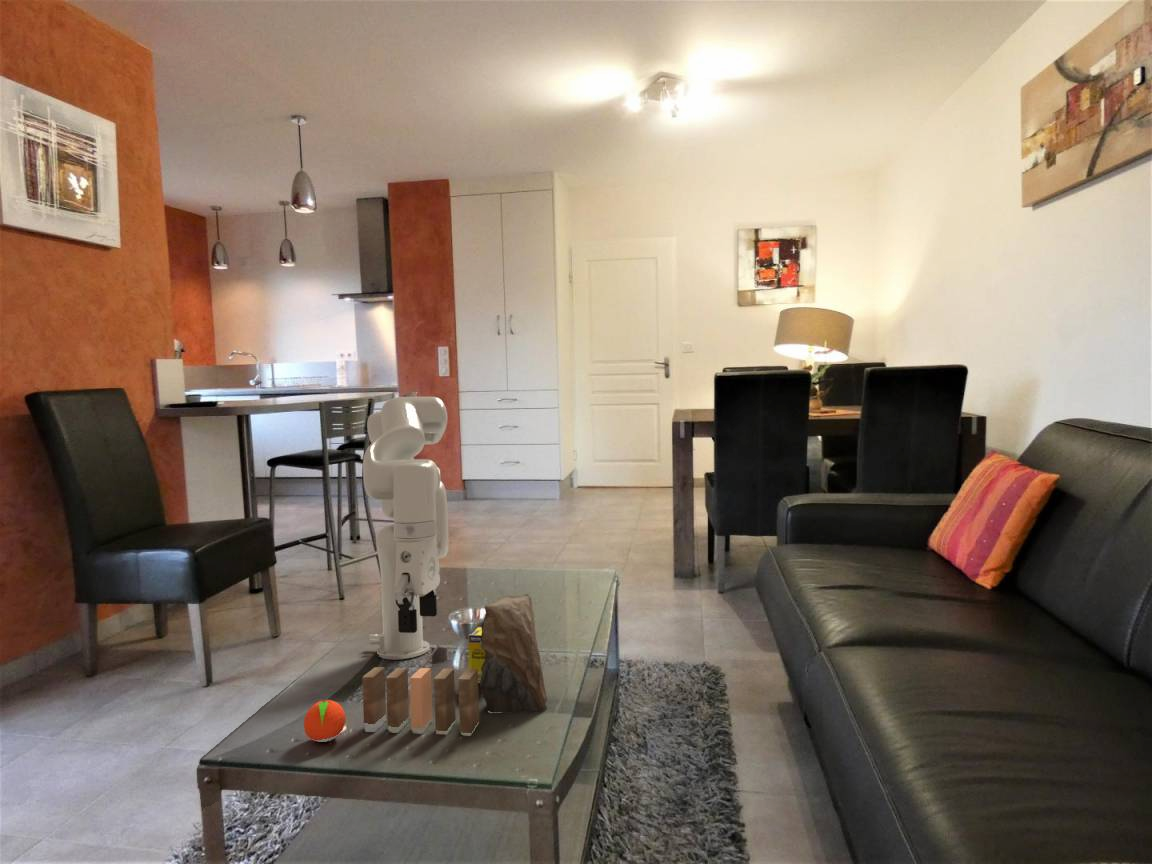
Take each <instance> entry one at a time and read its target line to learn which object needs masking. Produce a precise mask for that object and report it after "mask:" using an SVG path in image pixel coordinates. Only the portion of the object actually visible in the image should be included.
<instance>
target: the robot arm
mask: <svg viewBox="0 0 1152 864" xmlns="http://www.w3.org/2000/svg"><path fill="white" fill-rule="evenodd" d="M366 422H367V423H366V428H367V433H368V438H369V442H370V444H369V446H368V447H367V448H366V450H365V452H364V455H363V461H362V474H363V475H362V476H363V478H362V479H363V486H364V490H365V491H364V492H365V493H366V495H367V496H368V497H369V498H370V499H371V500H374V501H380V503H381V504H380V505H381V511H382V514H383V515H384V516H385V517H387V518H389V519H393V524H389V525H386V526H384V527H381V529H379V531H378V532H377V534H376V537H375V544H376V550H377V556H378V563H379V571H380V582H381V583H380V584H381V612H382V615H381V617H382V633H381V634H378V633H377V634H376V633H374V634H373V633H371V634H370V633H369V635H368V644H369V645H378V648H377V649H376V655H377V654H378V655H379V656H378V655H377V656H378V657H379V658H380V657H381V659H385V660H390V661H391V660H394V661H395V660H406V659H412V658H417V657H419V656H422V655H424V654H427V652H429V650H430V643H429V642H428V641H426V640H424V630H423V628H424V627H423V617H436V616H437V614H438V611H437V610H438V608H437V607H438V606H437V592H438V589H437V588H438V586H439V585H440V583H441V574H440V573H441V571H440V559H444V557H446V556H447V554H448V552H449V546H450V544H449V543H450V541H449V539H450V538H449V537H450V535H449V516H448V514H449V513H448V500H447V499H448V498H447V490H446V487H445V484H444V483H443V481H442V480H441V479H442V477H441V476H442V475H441V469H440V468H439V466H437V464H436V463H435V462H434V461H433V460H431V459H427V458H419V459H416V458H414V457H416V456H417V455H419V454H420V453H421V452H422V451H423V449H424V447H425V445H434V444H438V443H439V442H440V441H441V439H442V437H443V435H444V434H445V432H446V429H447V425H448V411H447V407H446V405H445V403H444V402H443V400H442V399H440V398H439V397H436V396H429V395H428V396H398V397H393V398H391V399H389V400H387V401H386V402H384V404H383V405H382V407H381V409H380V411H376V412H374V413H371V414H370V415H369V416H368V418H367V421H366Z"/></svg>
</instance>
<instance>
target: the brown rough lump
mask: <svg viewBox="0 0 1152 864" xmlns="http://www.w3.org/2000/svg"><path fill="white" fill-rule="evenodd" d="M532 603H533V602H532V598H531V596H530V595H529V593H525V594H523V595H503V596H502V597H499V598H497V600H495V601H493V602H492V603H487V604H485V606H484V609H485V616H484V617H483V618H484V619H483V622H482V624H481V627H482V635H481V639H482V649H483V650H484V652H485V661H484V663H483V666H482V667H481V671H482V677H481V680H480V686H481V687H480V689H481V693H482V696H483V699H484V701H485V703H486V707H487V712H488V711H490V712H503V713H508V712H511V713H517V712H518V713H520V712H525V713H526V712H536V711H545V710H548V708H547V703H546V702H547V700H548V699H547V692H546V687H545V686H546V685H545V682H544V675H543V669H542V663H541V662H542V661H541V655H540V651H539V646H538V641H537V636H536V629H535V628H536V627H535V614H534V610H533V604H532Z"/></svg>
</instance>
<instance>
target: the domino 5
mask: <svg viewBox="0 0 1152 864" xmlns="http://www.w3.org/2000/svg"><path fill="white" fill-rule="evenodd" d="M457 680H458V708H459V733H460V732H462V733H472V731H473V730H474V728H475V726H476V725H477V723H478V722H479V723H480V703H479V702H480V701H479V687H478V669H469V668H467V669H466V670H465V671H464V672H463V673H462V674H461V675H460V677H458V679H457Z"/></svg>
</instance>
